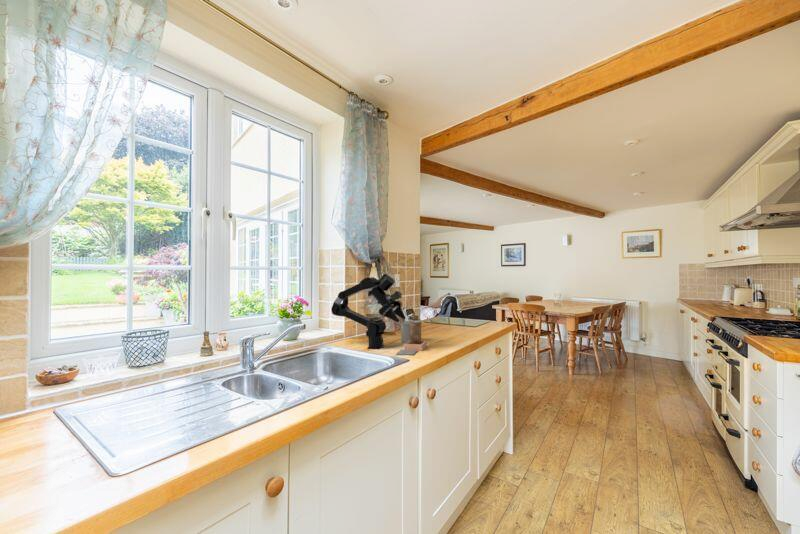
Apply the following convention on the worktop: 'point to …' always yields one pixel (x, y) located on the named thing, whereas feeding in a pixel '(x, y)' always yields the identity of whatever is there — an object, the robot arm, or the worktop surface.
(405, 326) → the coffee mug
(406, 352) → the slate coaster
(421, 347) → the holder
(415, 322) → the pepper mill
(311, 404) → the worktop surface
